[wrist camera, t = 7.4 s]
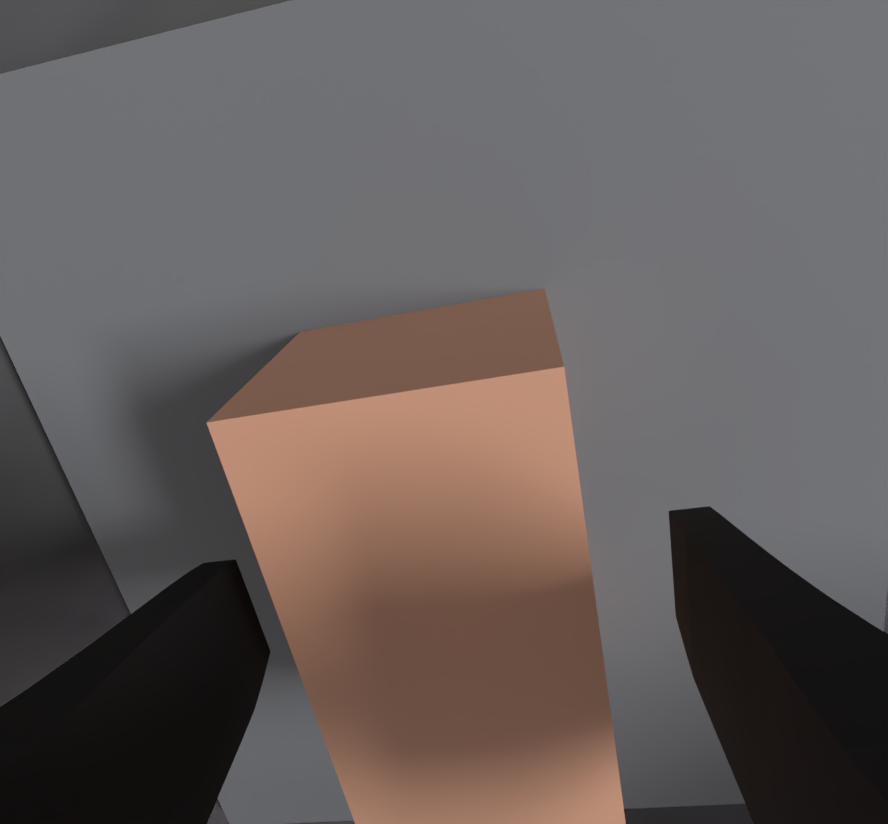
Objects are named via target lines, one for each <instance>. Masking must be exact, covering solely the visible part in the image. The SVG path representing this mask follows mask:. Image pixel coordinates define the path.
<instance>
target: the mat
mask: <svg viewBox="0 0 888 824" xmlns="http://www.w3.org/2000/svg"><path fill="white" fill-rule="evenodd" d="M540 289H545V292H546V296H547V300H548V304H549V308H550V312H551V316H552V320H553V324H554V328H555V332H556V336H557V340H558V344H559V348H560V352H561V356H562V360H563V364H564V369H565V376H566V383H567V391H568V398H569V406H570V413H571V421H572V428H573V435H574V443H575V450H576V458H577V465H578V472H579V480H580V487H581V495H582V502H583V510H584V517H585V524H586V532H587V539H588V547H589V554H590V562H591V569H592V576H593V584H594V591H595V599H596V606H597V613H598V621H599V628H600V636H601V643H602V651H603V658H604V665H605V673H606V680H607V688H608V695H609V703H610V710H611V717H612V725H613V732H614V740H615V747H616V754H617V762H618V769H619V777H620V784H621V792H622V799H623V806H624V809H636V808H659V807H683V806H706V805H729V804H745V801H744V799H743V796H742V794H741V792H740V789H739V787H738V784H737V782H736V780H735V777H734V775H733V772H732V770H731V768H730V765H729V763H728V760H727V758H726V756H725V753H724V751H723V748H722V746H721V744H720V741H719V739H718V736H717V734H716V732H715V729H714V727H713V724H712V722H711V719H710V717H709V715H708V712H707V710H706V707H705V705H704V702H703V700H702V698H701V695H700V693H699V690H698V688H697V685H696V683H695V680H694V678H693V675H692V672H691V668H690V665H689V661H688V658H687V655H686V651H685V648H684V644H683V640H682V637H681V633H680V630H679V626H678V622H677V619H676V613H675V598H674V584H673V569H672V554H671V539H670V524H669V511H671V510H680V509H689V508H698V507H707V506H710V507H711V508H713V509H714V510H715V511H717V512H718V513H719V514H721V515H722V516H723V517H724V518H726V519H727V520H728V521H729V522H731V523H732V524H733V525H734V526H736V527H737V528H738V529H739V530H741V531H742V532H743V533H744V534H746V535H747V536H748V537H749V538H751V539H752V540H753V541H754V542H756V543H757V544H758V545H760V546H761V547H762V548H763V549H765V550H766V551H767V552H769V553H770V554H771V555H772V556H774V557H775V558H776V559H778V560H779V561H780V562H782V563H783V564H784V565H786V566H787V567H788V568H790V569H791V570H792V571H794V572H795V573H797V574H798V575H799V576H801V577H802V578H803V579H805V580H806V581H808V582H809V583H810V584H812V585H813V586H814V587H816V588H817V589H819V590H820V591H822V592H823V593H825V594H826V595H827V596H829V597H830V598H832V599H833V600H835V601H836V602H838V603H839V604H841V605H843V606H844V607H846V608H847V609H849V610H850V611H852V612H853V613H855V614H856V615H858V616H860V617H861V618H863V619H864V620H866V621H867V622H869V623H870V624H872V625H874V626H875V627H877V628H878V629H880V630H882V631H883V632H884V623H885V612H886V600H887V589H888V0H291V1H287V2H283V3H279V4H275V5H271V6H267V7H263V8H259V9H255V10H251V11H247V12H243V13H239V14H235V15H231V16H227V17H223V18H219V19H216V20H212V21H208V22H204V23H200V24H196V25H192V26H188V27H184V28H180V29H176V30H172V31H168V32H164V33H160V34H156V35H152V36H148V37H144V38H140V39H136V40H133V41H129V42H125V43H121V44H117V45H113V46H109V47H105V48H101V49H97V50H93V51H89V52H85V53H81V54H77V55H73V56H69V57H65V58H61V59H57V60H53V61H50V62H46V63H42V64H38V65H34V66H30V67H26V68H22V69H18V70H14V71H10V72H6V73H2V74H0V336H1V339H2V341H3V343H4V345H5V347H6V349H7V351H8V353H9V356H10V358H11V360H12V362H13V364H14V366H15V368H16V371H17V373H18V375H19V377H20V379H21V381H22V383H23V385H24V388H25V390H26V392H27V394H28V396H29V398H30V400H31V402H32V405H33V407H34V409H35V411H36V413H37V415H38V417H39V419H40V422H41V424H42V426H43V428H44V430H45V432H46V434H47V437H48V439H49V441H50V443H51V445H52V447H53V449H54V451H55V454H56V456H57V458H58V460H59V462H60V464H61V466H62V468H63V471H64V473H65V475H66V477H67V479H68V481H69V483H70V485H71V488H72V490H73V492H74V494H75V496H76V498H77V500H78V502H79V505H80V507H81V509H82V511H83V513H84V515H85V517H86V520H87V522H88V524H89V526H90V528H91V530H92V532H93V534H94V537H95V539H96V541H97V543H98V545H99V547H100V549H101V551H102V554H103V556H104V558H105V560H106V562H107V564H108V566H109V568H110V571H111V573H112V575H113V577H114V579H115V581H116V583H117V585H118V588H119V590H120V592H121V594H122V596H123V598H124V600H125V603H126V605H127V607H128V609H129V611H130V613H131V614H132V613H133V612H135V611H136V610H137V609H139V608H140V607H141V606H143V605H144V604H145V603H147V602H148V601H149V600H150V599H152V598H153V597H154V596H156V595H157V594H159V593H160V592H161V591H163V590H164V589H165V588H167V587H168V586H169V585H171V584H172V583H174V582H175V581H176V580H178V579H179V578H181V577H182V576H183V575H185V574H186V573H188V572H189V571H191V570H193V569H194V568H196V567H197V566H199V565H201V564H202V563H207V562H216V561H225V560H234V559H236V561H237V564H238V566H239V569H240V572H241V574H242V577H243V580H244V582H245V585H246V588H247V590H248V593H249V596H250V598H251V601H252V603H253V606H254V609H255V611H256V614H257V617H258V619H259V622H260V625H261V627H262V630H263V633H264V635H265V638H266V641H267V643H268V646H269V649H270V655H269V659H268V663H267V667H266V671H265V675H264V679H263V683H262V686H261V690H260V693H259V697H258V700H257V703H256V707H255V710H254V712H253V715H252V717H251V720H250V722H249V725H248V727H247V730H246V732H245V734H244V737H243V739H242V742H241V744H240V746H239V749H238V751H237V754H236V756H235V758H234V761H233V763H232V765H231V768H230V770H229V772H228V775H227V777H226V779H225V782H224V784H223V786H222V789H221V791H220V793H219V796H218V800H219V803H220V805H221V807H222V809H223V811H224V813H225V815H226V817H227V820H228V822H229V824H287V823H310V822H333V821H354V819H353V817H352V814H351V811H350V809H349V806H348V803H347V801H346V798H345V795H344V792H343V790H342V787H341V784H340V782H339V779H338V776H337V774H336V771H335V768H334V765H333V763H332V760H331V757H330V755H329V752H328V749H327V747H326V744H325V741H324V739H323V736H322V733H321V730H320V728H319V725H318V722H317V720H316V717H315V714H314V712H313V709H312V706H311V703H310V701H309V698H308V695H307V693H306V690H305V687H304V685H303V682H302V679H301V676H300V674H299V671H298V668H297V666H296V663H295V660H294V658H293V655H292V652H291V650H290V647H289V644H288V641H287V639H286V636H285V633H284V631H283V628H282V625H281V623H280V620H279V617H278V614H277V612H276V609H275V606H274V604H273V601H272V598H271V596H270V593H269V590H268V587H267V585H266V582H265V579H264V577H263V574H262V571H261V569H260V566H259V563H258V561H257V558H256V555H255V552H254V550H253V547H252V544H251V542H250V539H249V536H248V534H247V531H246V528H245V525H244V523H243V520H242V517H241V515H240V512H239V509H238V507H237V504H236V501H235V498H234V496H233V493H232V490H231V488H230V485H229V482H228V480H227V477H226V474H225V471H224V469H223V466H222V463H221V461H220V458H219V455H218V453H217V450H216V447H215V445H214V442H213V439H212V436H211V434H210V431H209V428H208V426H207V423H206V422H207V421H208V420H209V419H211V418H212V417H213V416H214V415H215V414H216V413H217V412H218V411H219V410H220V409H221V408H222V407H223V406H224V405H225V404H226V403H227V402H228V401H229V400H230V399H231V398H232V397H233V396H234V395H235V394H236V393H237V392H239V391H240V390H241V389H242V388H243V387H244V386H245V385H246V384H247V383H248V382H249V381H250V380H251V379H252V378H253V377H254V376H255V375H256V374H257V373H258V372H259V371H260V370H261V369H262V368H263V367H264V366H265V365H267V364H268V363H269V362H270V361H271V360H272V359H273V358H274V357H275V356H276V355H277V354H278V353H279V352H280V351H281V350H282V349H283V348H284V347H285V346H286V345H287V344H288V343H289V342H290V341H291V340H292V339H293V338H295V337H296V336H297V335H298V334H299V333H300V332H301V331H307V330H312V329H318V328H324V327H329V326H335V325H341V324H346V323H352V322H358V321H363V320H369V319H375V318H380V317H386V316H392V315H398V314H403V313H409V312H415V311H420V310H426V309H432V308H437V307H443V306H449V305H454V304H460V303H466V302H471V301H477V300H483V299H488V298H494V297H500V296H506V295H511V294H517V293H523V292H528V291H534V290H540Z"/></svg>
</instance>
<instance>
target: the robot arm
mask: <svg viewBox="0 0 888 824" xmlns="http://www.w3.org/2000/svg"><path fill="white" fill-rule="evenodd" d="M669 524H670V539H671V554H672V569H673V584H674V598H675V613H676V619H677V622H678V626H679V630H680V633H681V637H682V640H683V644H684V648H685V651H686V655H687V658H688V661H689V665H690V668H691V672H692V675H693V678H694V680H695V683H696V685H697V688H698V690H699V693H700V695H701V698H702V700H703V702H704V705H705V707H706V710H707V712H708V715H709V717H710V719H711V722H712V724H713V727H714V729H715V732H716V734H717V736H718V739H719V741H720V744H721V746H722V748H723V751H724V753H725V756H726V758H727V760H728V763H729V765H730V768H731V770H732V772H733V775H734V777H735V780H736V782H737V784H738V787H739V789H740V792H741V794H742V796H743V799H744V801H745V804H746V806H747V808H748V811H749V813H750V816H751V818H752V820H753V823H754V824H888V634H887V633H885V632H883V631H882V630H880V629H878V628H877V627H875V626H874V625H872V624H870V623H869V622H867V621H866V620H864V619H863V618H861V617H860V616H858V615H856V614H855V613H853V612H852V611H850V610H849V609H847V608H846V607H844V606H843V605H841V604H839V603H838V602H836V601H835V600H833V599H832V598H830V597H829V596H827V595H826V594H825V593H823V592H822V591H820V590H819V589H817V588H816V587H814V586H813V585H812V584H810V583H809V582H808V581H806V580H805V579H803V578H802V577H801V576H799V575H798V574H797V573H795V572H794V571H792V570H791V569H790V568H788V567H787V566H786V565H784V564H783V563H782V562H780V561H779V560H778V559H776V558H775V557H774V556H772V555H771V554H770V553H769V552H767V551H766V550H765V549H763V548H762V547H761V546H760V545H758V544H757V543H756V542H754V541H753V540H752V539H751V538H749V537H748V536H747V535H746V534H744V533H743V532H742V531H741V530H739V529H738V528H737V527H736V526H734V525H733V524H732V523H731V522H729V521H728V520H727V519H726V518H724V517H723V516H722V515H721V514H719V513H718V512H717V511H715V510H714V509H713V508H711V507H710V506H707V507H698V508H689V509H680V510H671V511H669ZM269 655H270V649H269V646H268V643H267V641H266V638H265V635H264V633H263V630H262V627H261V625H260V622H259V619H258V617H257V614H256V611H255V609H254V606H253V603H252V601H251V598H250V596H249V593H248V590H247V588H246V585H245V582H244V580H243V577H242V574H241V572H240V569H239V566H238V564H237V561H236V559H234V560H225V561H216V562H207V563H202V564H201V565H199V566H197V567H196V568H194V569H193V570H191V571H189V572H188V573H186V574H185V575H183V576H182V577H181V578H179V579H178V580H176V581H175V582H174V583H172V584H171V585H169V586H168V587H167V588H165V589H164V590H163V591H161V592H160V593H159V594H157V595H156V596H154V597H153V598H152V599H150V600H149V601H148V602H147V603H145V604H144V605H143V606H141V607H140V608H139V609H137V610H136V611H135V612H133V613H132V614H131V615H129V616H128V617H127V618H125V619H124V620H123V621H121V622H120V623H119V624H117V625H116V626H115V627H113V628H112V629H111V630H109V631H108V632H107V633H105V634H104V635H103V636H101V637H100V638H99V639H97V640H96V641H95V642H93V643H92V644H91V645H89V646H88V647H86V648H85V649H84V650H82V651H81V652H79V653H78V654H76V655H75V656H74V657H72V658H71V659H69V660H68V661H67V662H65V663H64V664H62V665H61V666H60V667H58V668H57V669H55V670H54V671H53V672H51V673H50V674H48V675H47V676H45V677H44V678H43V679H41V680H40V681H38V682H37V683H36V684H34V685H33V686H31V687H30V688H29V689H27V690H26V691H24V692H23V693H21V694H20V695H18V696H17V697H15V698H14V699H12V700H11V701H9V702H8V703H6V704H4V705H3V706H1V707H0V824H207V822H208V819H209V817H210V815H211V812H212V810H213V808H214V805H215V803H216V800H217V798H218V796H219V793H220V791H221V789H222V786H223V784H224V782H225V779H226V777H227V775H228V772H229V770H230V768H231V765H232V763H233V761H234V758H235V756H236V754H237V751H238V749H239V746H240V744H241V742H242V739H243V737H244V734H245V732H246V730H247V727H248V725H249V722H250V720H251V717H252V715H253V712H254V710H255V707H256V703H257V700H258V697H259V693H260V690H261V686H262V683H263V679H264V675H265V671H266V667H267V663H268V659H269Z"/></svg>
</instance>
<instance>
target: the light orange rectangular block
mask: <svg viewBox="0 0 888 824" xmlns="http://www.w3.org/2000/svg"><path fill="white" fill-rule="evenodd" d="M206 423H207V426H208V428H209V431H210V434H211V436H212V439H213V442H214V445H215V447H216V450H217V453H218V455H219V458H220V461H221V463H222V466H223V469H224V471H225V474H226V477H227V480H228V482H229V485H230V488H231V490H232V493H233V496H234V498H235V501H236V504H237V507H238V509H239V512H240V515H241V517H242V520H243V523H244V525H245V528H246V531H247V534H248V536H249V539H250V542H251V544H252V547H253V550H254V552H255V555H256V558H257V561H258V563H259V566H260V569H261V571H262V574H263V577H264V579H265V582H266V585H267V587H268V590H269V593H270V596H271V598H272V601H273V604H274V606H275V609H276V612H277V614H278V617H279V620H280V623H281V625H282V628H283V631H284V633H285V636H286V639H287V641H288V644H289V647H290V650H291V652H292V655H293V658H294V660H295V663H296V666H297V668H298V671H299V674H300V676H301V679H302V682H303V685H304V687H305V690H306V693H307V695H308V698H309V701H310V703H311V706H312V709H313V712H314V714H315V717H316V720H317V722H318V725H319V728H320V730H321V733H322V736H323V739H324V741H325V744H326V747H327V749H328V752H329V755H330V757H331V760H332V763H333V765H334V768H335V771H336V774H337V776H338V779H339V782H340V784H341V787H342V790H343V792H344V795H345V798H346V801H347V803H348V806H349V809H350V811H351V814H352V817H353V819H354V822H355V824H626V821H625V814H624V806H623V799H622V792H621V784H620V777H619V769H618V762H617V754H616V747H615V740H614V732H613V725H612V717H611V710H610V703H609V695H608V688H607V680H606V673H605V665H604V658H603V651H602V643H601V636H600V628H599V621H598V613H597V606H596V599H595V591H594V584H593V576H592V569H591V562H590V554H589V547H588V539H587V532H586V524H585V517H584V510H583V502H582V495H581V487H580V480H579V472H578V465H577V458H576V450H575V443H574V435H573V428H572V421H571V413H570V406H569V398H568V391H567V383H566V376H565V369H564V364H563V360H562V356H561V352H560V348H559V344H558V340H557V336H556V332H555V328H554V324H553V320H552V316H551V312H550V308H549V304H548V300H547V296H546V292H545V289H540V290H534V291H528V292H523V293H517V294H511V295H506V296H500V297H494V298H488V299H483V300H477V301H471V302H466V303H460V304H454V305H449V306H443V307H437V308H432V309H426V310H420V311H415V312H409V313H403V314H398V315H392V316H386V317H380V318H375V319H369V320H363V321H358V322H352V323H346V324H341V325H335V326H329V327H324V328H318V329H312V330H307V331H301V332H300V333H299V334H298V335H297V336H296V337H295V338H293V339H292V340H291V341H290V342H289V343H288V344H287V345H286V346H285V347H284V348H283V349H282V350H281V351H280V352H279V353H278V354H277V355H276V356H275V357H274V358H273V359H272V360H271V361H270V362H269V363H268V364H267V365H265V366H264V367H263V368H262V369H261V370H260V371H259V372H258V373H257V374H256V375H255V376H254V377H253V378H252V379H251V380H250V381H249V382H248V383H247V384H246V385H245V386H244V387H243V388H242V389H241V390H240V391H239V392H237V393H236V394H235V395H234V396H233V397H232V398H231V399H230V400H229V401H228V402H227V403H226V404H225V405H224V406H223V407H222V408H221V409H220V410H219V411H218V412H217V413H216V414H215V415H214V416H213V417H212V418H211V419H209V420H208V421H207V422H206Z"/></svg>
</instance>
